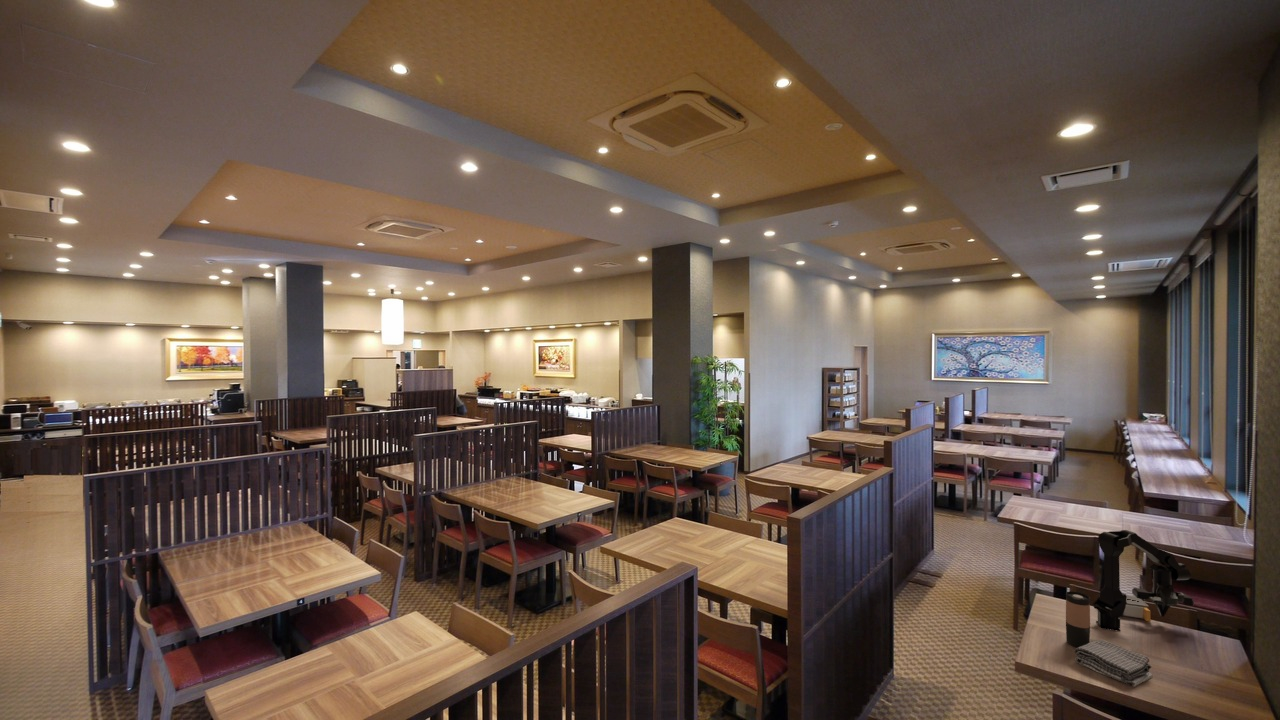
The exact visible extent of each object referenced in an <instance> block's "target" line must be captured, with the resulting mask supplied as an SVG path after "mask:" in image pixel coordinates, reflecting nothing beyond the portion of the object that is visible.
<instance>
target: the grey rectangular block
mask: <svg viewBox="0 0 1280 720" xmlns="http://www.w3.org/2000/svg"><path fill="white" fill-rule="evenodd" d="M1151 613H1152V611H1151V610H1150V609H1149V607H1148V608H1147V607H1142V606H1135V605H1128V604H1126V608H1125V610H1124V613H1123V615H1125V616H1124V617H1128V616H1132V617H1131V618H1135V617H1139V618H1138V619H1142V618H1144V620H1145V622H1151V620H1152V619H1151Z"/></svg>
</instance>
